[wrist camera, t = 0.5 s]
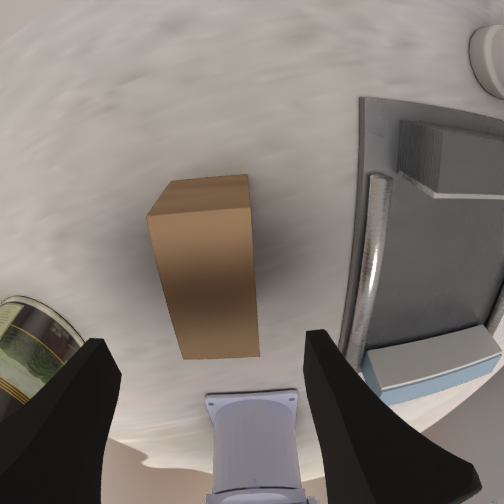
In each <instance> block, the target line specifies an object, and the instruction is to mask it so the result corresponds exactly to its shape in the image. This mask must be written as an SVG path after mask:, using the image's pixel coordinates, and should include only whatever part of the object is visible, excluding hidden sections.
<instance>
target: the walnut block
mask: <svg viewBox="0 0 504 504" xmlns="http://www.w3.org/2000/svg"><path fill="white" fill-rule="evenodd" d="M146 218H147V223H148V228H149V233H150V237H151V242H152V246H153V251H154V255H155V259H156V263H157V267H158V272H159V276H160V280H161V283H162V287H163V291H164V295H165V299H166V302H167V306H168V310H169V313H170V317H171V320H172V324H173V327H174V331H175V334H176V337H177V341H178V344H179V347H180V350H181V354H182V357H183V360H184V359H224V358H244V357H260V351H259V335H258V319H257V303H256V288H255V272H254V257H253V241H252V226H251V210H250V198H249V187H248V176H247V174H244V175H231V176H218V177H207V178H196V179H186V180H177V181H171V182H170V184H169V185H168V186H167V188H166V189H165V191H164V192H163V193H162V195H161V196H160V197H159V199H158V200H157V202H156V203H155V204H154V206H153V207H152V209H151V210H150V212H149V213H148V214H147V216H146Z"/></svg>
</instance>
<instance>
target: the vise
mask: <svg viewBox="0 0 504 504" xmlns="http://www.w3.org/2000/svg"><path fill="white" fill-rule="evenodd" d="M503 314H504V121H500V120H496V119H493V118H489V117H485V116H481V115H476V114H472V113H467V112H463V111H458V110H453V109H448V108H442V107H436V106H430V105H424V104H417V103H410V102H402V101H394V100H384V99H374V98H361V97H359V164H358V186H357V202H356V216H355V228H354V239H353V249H352V258H351V267H350V275H349V283H348V291H347V298H346V305H345V311H344V318H343V324H342V330H341V336H340V342H339V347H338V349H339V350H340V352H341V353H342V354H343V356H344V357H345V359H346V360H347V361H348V362H349V364H350V365H351V366H352V367H353V369H354V370H355V371H356V372H357V373H358V372H362V370H361V368H362V365H363V361H364V358H365V354H366V351H368V350H374V349H380V348H385V347H391V346H396V345H401V344H406V343H410V342H415V341H420V340H424V339H429V338H433V337H437V336H441V335H445V334H449V333H453V332H457V331H461V330H464V329H468V328H472V327H475V326H479V325H482V324H483V325H484V327H485V328H486V329H487V331H488V332H489V333H490V335H491V336H492V337H493V335H494V333H495V331H496V329H497V327H498V325H499V323H500V321H501V318H502V316H503Z"/></svg>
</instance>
